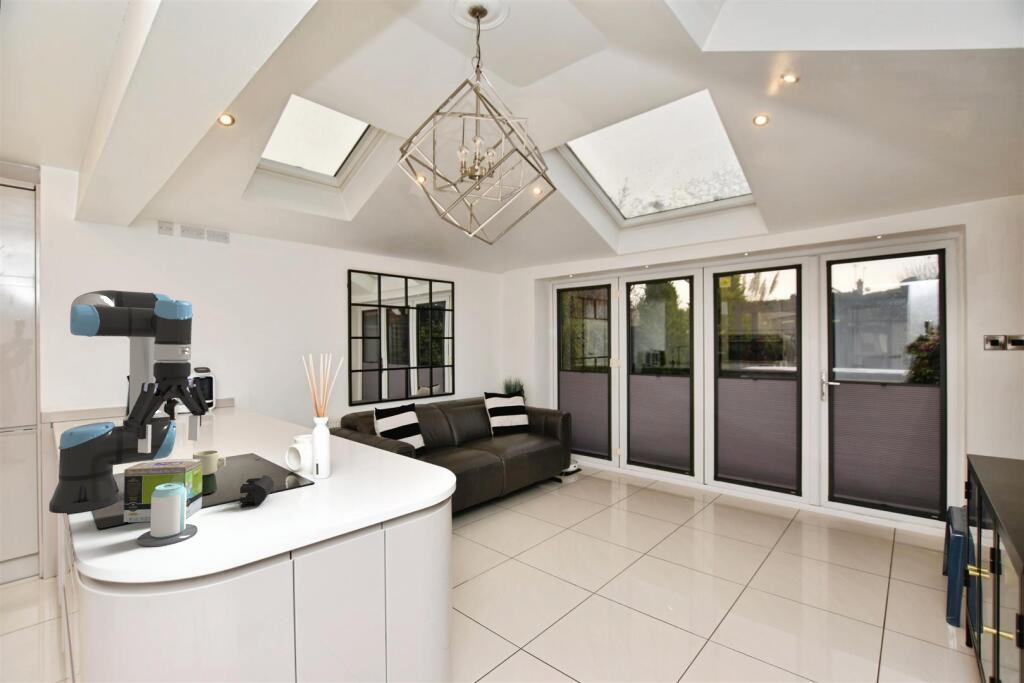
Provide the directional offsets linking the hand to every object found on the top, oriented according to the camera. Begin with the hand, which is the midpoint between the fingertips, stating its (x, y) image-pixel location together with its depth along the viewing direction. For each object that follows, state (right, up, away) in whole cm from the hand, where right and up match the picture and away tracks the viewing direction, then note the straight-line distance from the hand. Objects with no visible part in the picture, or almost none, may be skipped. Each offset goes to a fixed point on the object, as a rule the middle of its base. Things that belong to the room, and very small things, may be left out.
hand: (170, 446), depth 113 cm
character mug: (-13, -23, +31) cm, 41 cm away
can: (-1, -22, 0) cm, 22 cm away
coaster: (-1, -23, 0) cm, 23 cm away
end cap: (+8, -23, +25) cm, 35 cm away
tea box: (-12, -23, +13) cm, 28 cm away
